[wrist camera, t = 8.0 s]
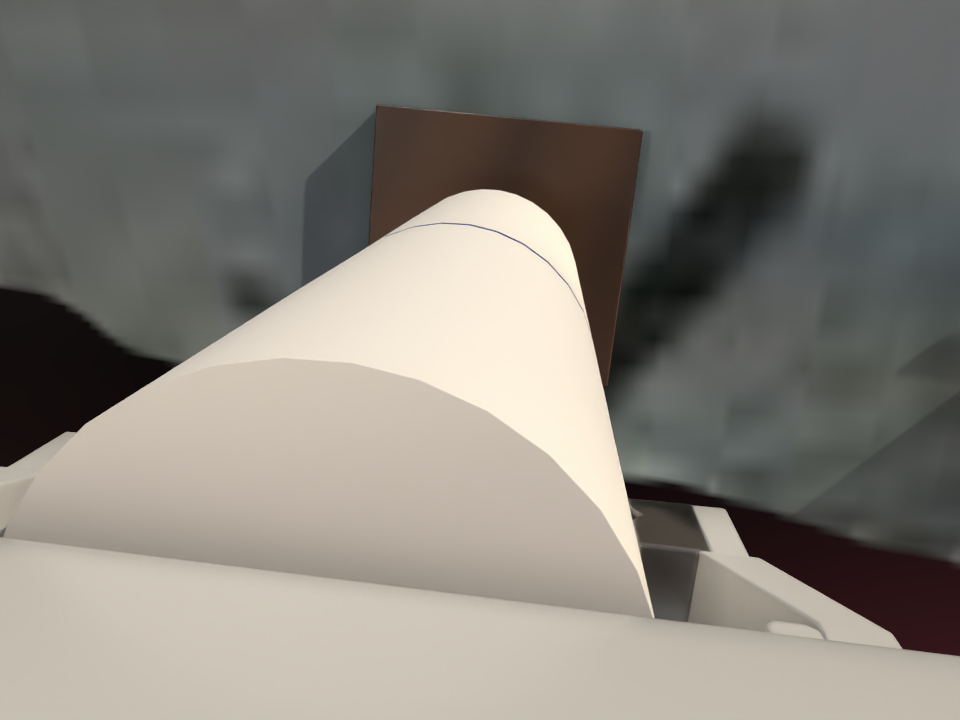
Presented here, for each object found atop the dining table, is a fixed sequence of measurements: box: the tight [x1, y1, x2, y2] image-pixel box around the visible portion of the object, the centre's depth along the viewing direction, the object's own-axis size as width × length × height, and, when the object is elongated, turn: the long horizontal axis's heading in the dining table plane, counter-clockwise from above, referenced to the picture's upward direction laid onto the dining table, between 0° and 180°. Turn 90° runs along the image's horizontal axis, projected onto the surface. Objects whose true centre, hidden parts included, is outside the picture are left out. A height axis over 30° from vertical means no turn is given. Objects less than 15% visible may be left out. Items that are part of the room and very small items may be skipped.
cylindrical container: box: [3, 189, 654, 618], centre depth 21 cm, size 7×7×25 cm
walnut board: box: [368, 105, 643, 387], centre depth 43 cm, size 13×13×1 cm
